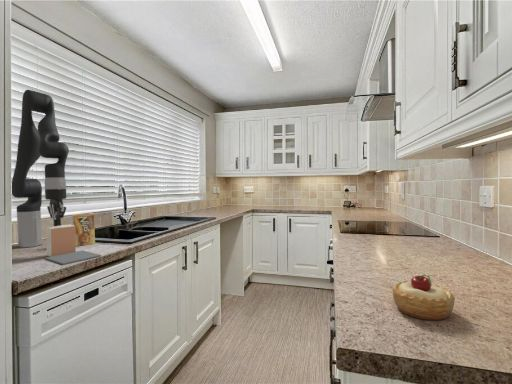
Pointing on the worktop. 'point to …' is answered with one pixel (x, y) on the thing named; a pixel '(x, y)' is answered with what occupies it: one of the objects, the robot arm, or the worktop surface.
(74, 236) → the tan block
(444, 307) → the pastry
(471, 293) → the worktop surface
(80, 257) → the mat
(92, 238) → the candy box
